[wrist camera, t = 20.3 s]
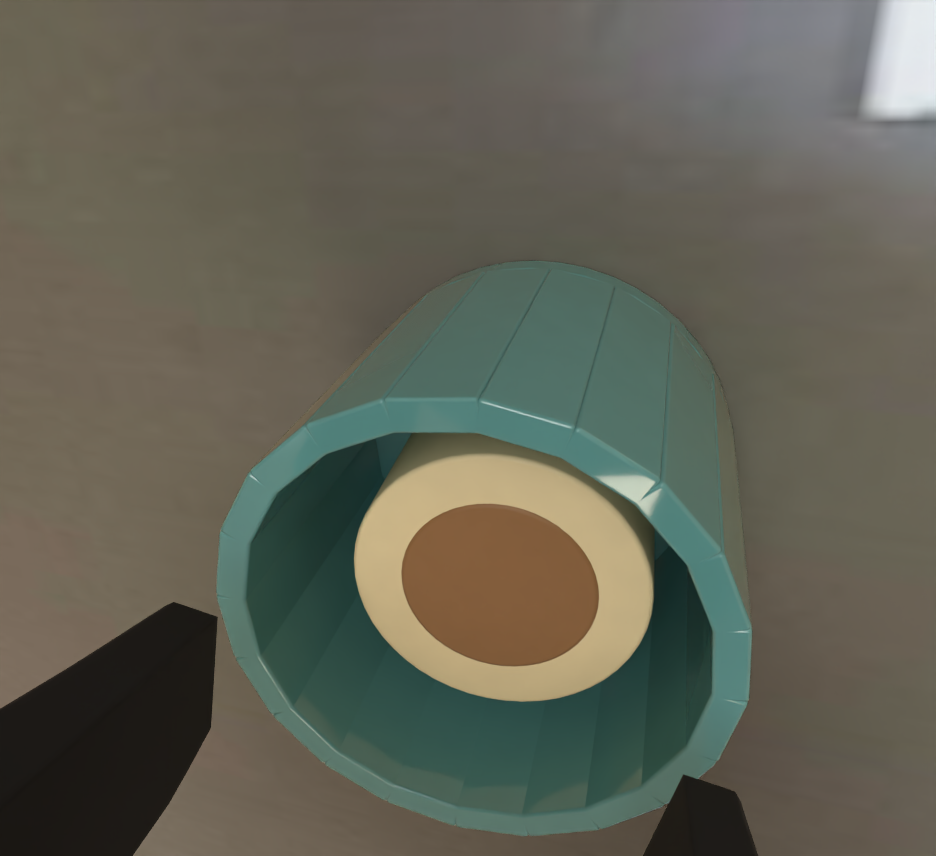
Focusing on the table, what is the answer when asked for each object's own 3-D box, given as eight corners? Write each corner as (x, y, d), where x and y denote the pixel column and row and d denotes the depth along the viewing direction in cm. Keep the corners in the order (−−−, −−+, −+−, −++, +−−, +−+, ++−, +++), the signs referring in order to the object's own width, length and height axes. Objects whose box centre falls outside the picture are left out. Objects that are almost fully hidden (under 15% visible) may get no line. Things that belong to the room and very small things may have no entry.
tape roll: (616, 576, 18) (604, 738, 14) (405, 515, 18) (335, 655, 14) (688, 380, 15) (698, 509, 12) (444, 316, 16) (373, 419, 12)
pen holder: (662, 632, 19) (649, 898, 13) (344, 531, 20) (206, 739, 14) (792, 322, 15) (852, 507, 9) (392, 214, 16) (229, 325, 10)
